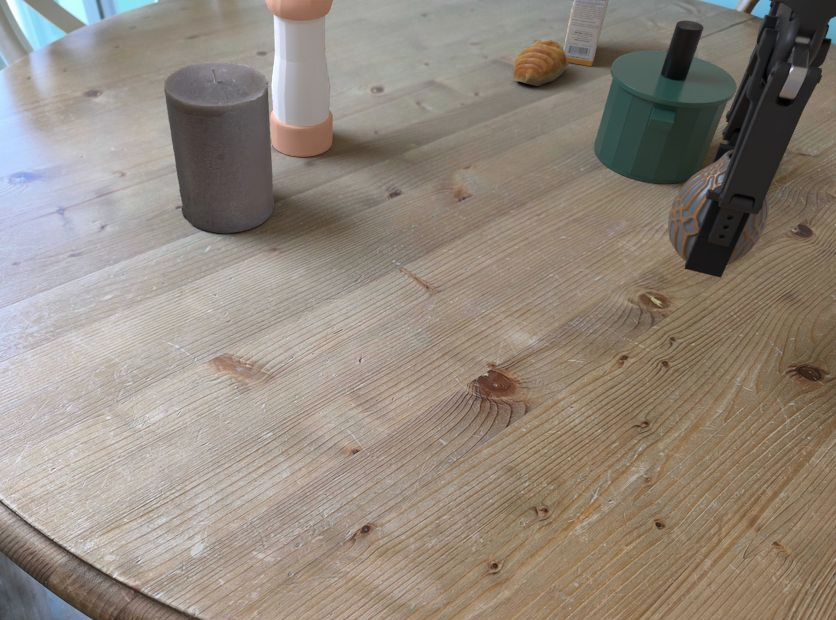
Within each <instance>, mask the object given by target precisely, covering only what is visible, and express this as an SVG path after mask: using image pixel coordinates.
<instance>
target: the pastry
mask: <svg viewBox="0 0 836 620" xmlns="http://www.w3.org/2000/svg"><path fill="white" fill-rule="evenodd" d="M563 49H564V46H562V45H561V44H560V43H559V42H557V41H555V40H552V39H545V40H540V39H539V40H538V39H537V41H536V42H534V43H531V45H530V46H527V47H526V48H525V49H523V50H522V51H521V52H520V53H519V54H518V55H517V57H516V58H515V60H514V66H513V67H514V68H513V72H512V78H513V80H514V82H520V83H523V84H528V85H532V86H536V87H538V86H542V85H545V84H549V83H551V82H553V81H555V80H556V79H558V78H559V77H560V76H561V75H563V72H564V71H565V70H566V69H567V67H568V66H569V63H568V61H567V59H566V54H565V53H564V50H563Z"/></svg>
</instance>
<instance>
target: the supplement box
mask: <svg viewBox="0 0 836 620" xmlns="http://www.w3.org/2000/svg"><path fill="white" fill-rule="evenodd" d="M609 1H610V0H573V1H572V5H571V10H570V14H569V18H568V25H567V29H566V33H565V39H564V44H563V50H564V53H565V54H566V59H567V61H568V64H575V65H576V64H577V65H582V66H589V67H592V66H593V64H594V61H595V56H596V52H597V49H598V45H599V41H600V37H601V32H602V28H603V24H604V20H605V17H606V13H607V8H608V4H609Z"/></svg>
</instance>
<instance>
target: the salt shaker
mask: <svg viewBox="0 0 836 620" xmlns="http://www.w3.org/2000/svg"><path fill="white" fill-rule="evenodd" d="M333 2H334V0H265V3H266V6H267V8H268V11H269V12H270V14H272V15H273V32H274V33H273V34H274V57H273V58H274V59H273V68H272V77H271V98H272V110H271V112H270V114H269V121H270V138H271V145H272V146H273V148H274V149H275V150H276V151H278V152H279V153H282V154H284V155H287V156H291V157H299V158H305V157H315V156H318V155H322V154H324V153H325V152H328V150H330V149H331V147H332V145H333V133H334V132H333V126H334V125H333V123H334V117H333V116H334V115H333V113H332V111H331V110H330V107H331V104H330V103H331V81H330V74H329V67H328V61H327V60H328V59H327V54H326V16H327V15H328V14H329V13H330V11H331V8H332V6H333Z"/></svg>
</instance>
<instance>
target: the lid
mask: <svg viewBox="0 0 836 620" xmlns="http://www.w3.org/2000/svg"><path fill="white" fill-rule="evenodd" d="M703 31H704V26H703V24H701V23H699V22H697V21H693V20H679V21H677V22H676V25H675V27H674V30H673V33H672V37H671V39H670V43H669V46H668V48H667V50H638V51H637V50H636V51H631V52H627V53H624V54H622V55H620V56H618V57H617V58H615V60H613V62H612V64H611V68H610V75H611V78H612V79H614V81H615V82H616V83H617V84H618V85H619V86H620V87H622V88H623V89H625V90H626V91H628V92H630V93H632V94H634V95H636V96H638V97H640V98H643V99H646V100H649V101H652V102H655V103H659V104H664V105H668V106H674V107H682V108H708V107H715V106H719V105H722V104H724V103H726V102H727V103H728V102H730V101H731V100H732V99H733V98H734V97H735V96H736V93H737V90H738V89H737V82H736V80H735V78H734V77H733V76H732V75H731V74H730V73H729V72H727V71H726V70H725V69H723V68H721V67H720V66H718V65H716V64H714V63H712V62H710V61H708V60H705V59H702V58H699V57H696V56H695V54H696V51H697V48H698V46H699V42H700V40H701V37H702V34H703Z"/></svg>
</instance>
